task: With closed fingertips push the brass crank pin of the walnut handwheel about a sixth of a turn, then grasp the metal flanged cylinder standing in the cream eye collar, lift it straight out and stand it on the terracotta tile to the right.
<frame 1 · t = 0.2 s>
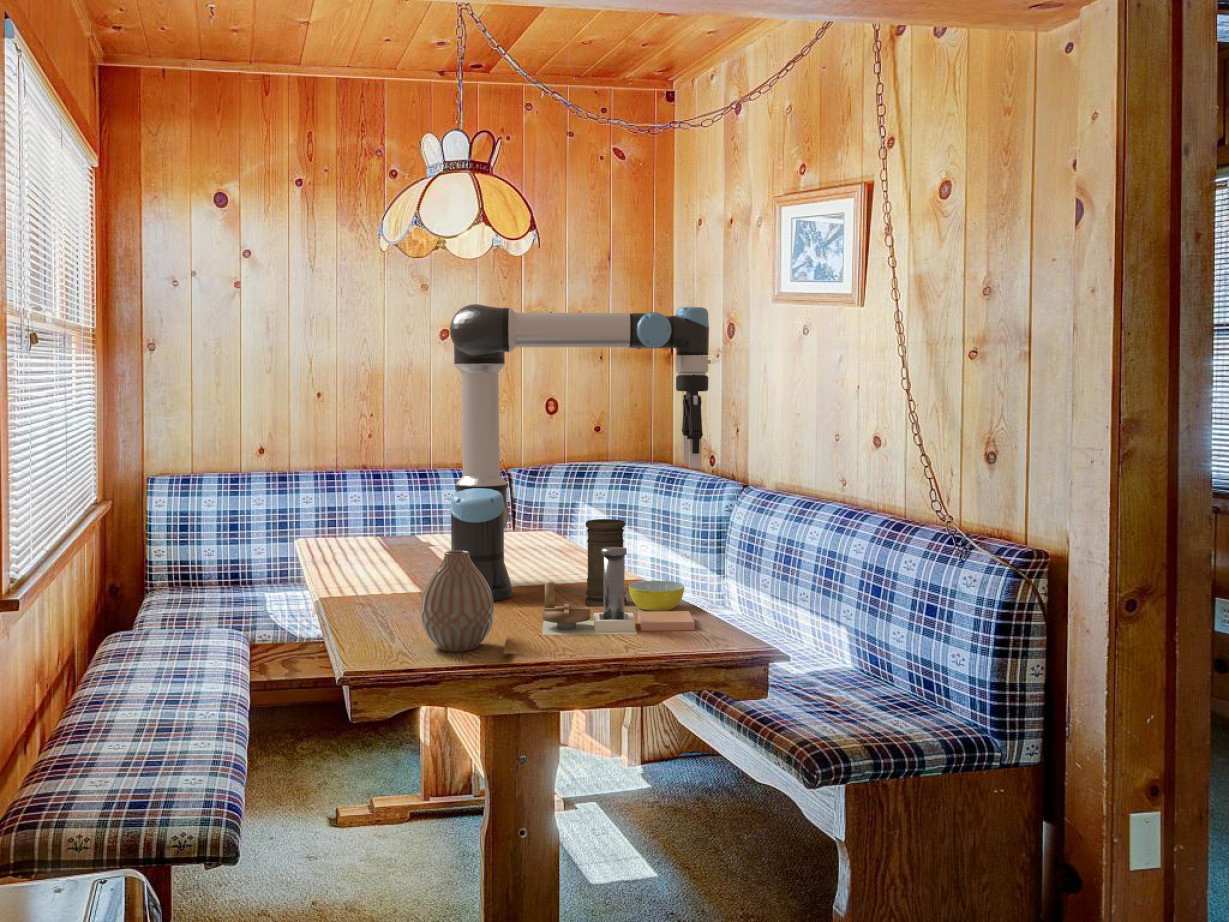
hand: (691, 465, 278), 28 cm above the table, fingers open, 13 cm apart
rest tile: (665, 632, 229), on the table
bowl: (656, 616, 245), on the table
metal flanged cylinder: (614, 627, 226), point 1 cm above the table, touching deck
container: (605, 605, 256), on the table
vase: (458, 648, 216), on the table
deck: (589, 635, 226), on the table
handwheel: (566, 601, 226), point 7 cm above the table, hinge at 0.0°
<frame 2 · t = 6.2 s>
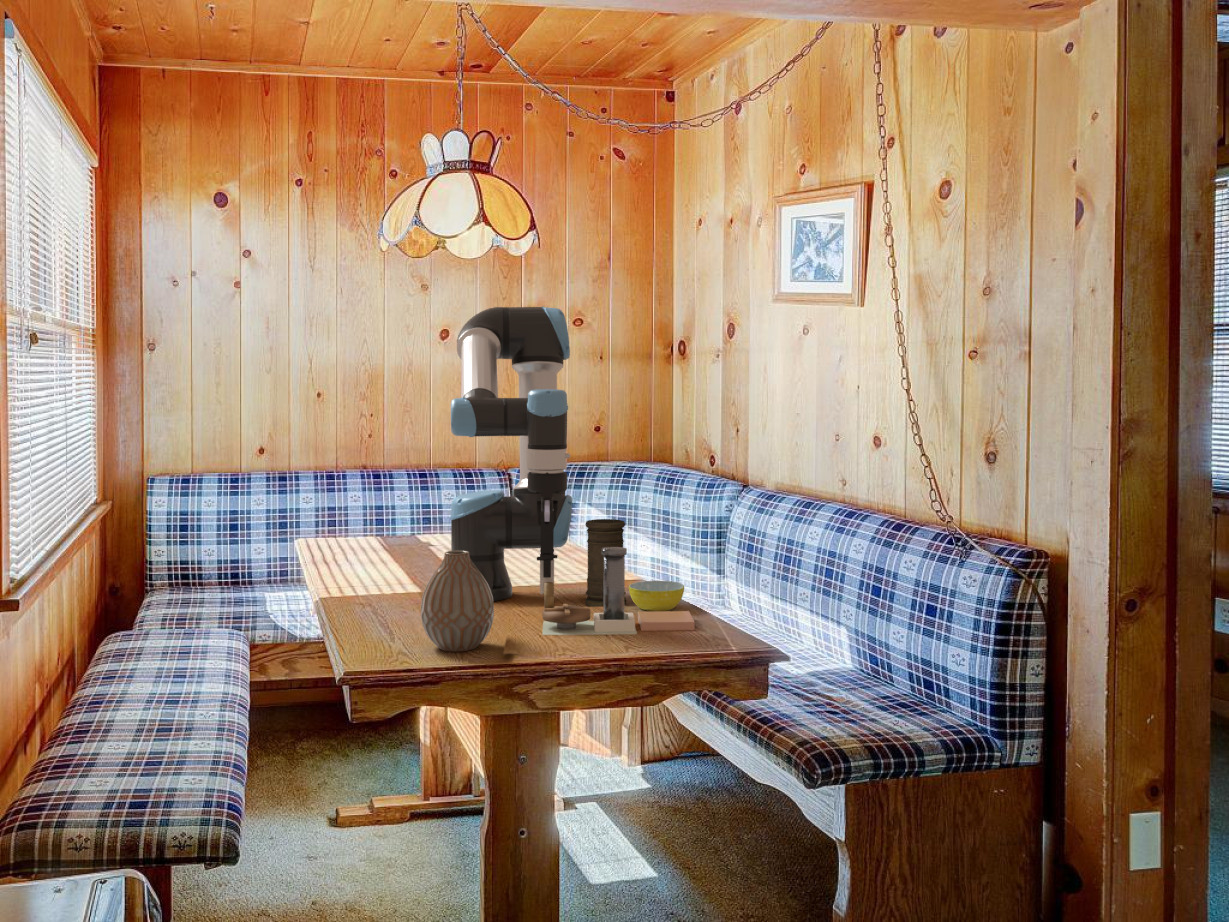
hand: (547, 593, 228), 8 cm above the table, fingers closed
handwheel: (566, 601, 226), point 7 cm above the table, hinge at 3.2°, touching gripper
everything else where it was.
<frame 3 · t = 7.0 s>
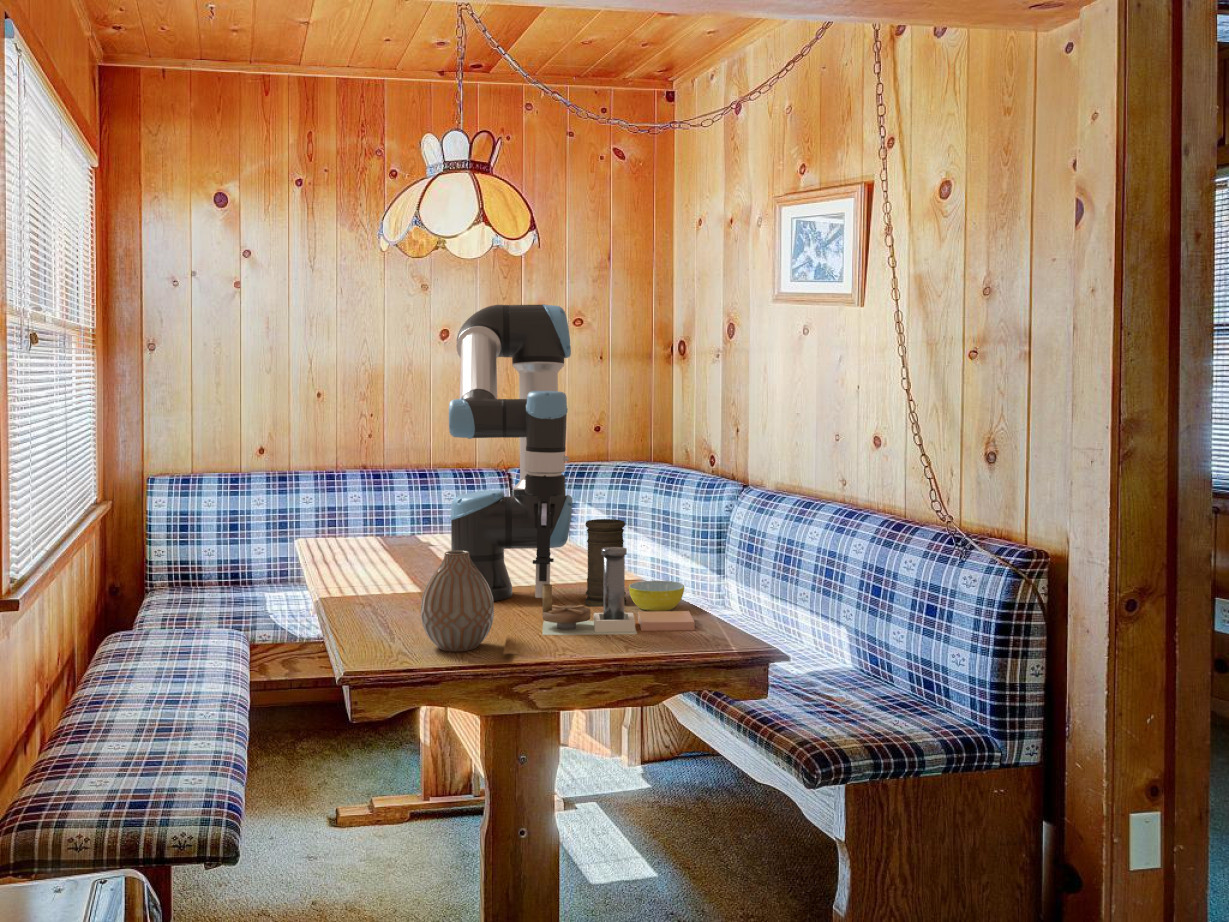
hand: (542, 597, 226), 7 cm above the table, fingers closed
handwheel: (566, 601, 226), point 7 cm above the table, hinge at 41.9°, touching gripper
everything else where it was.
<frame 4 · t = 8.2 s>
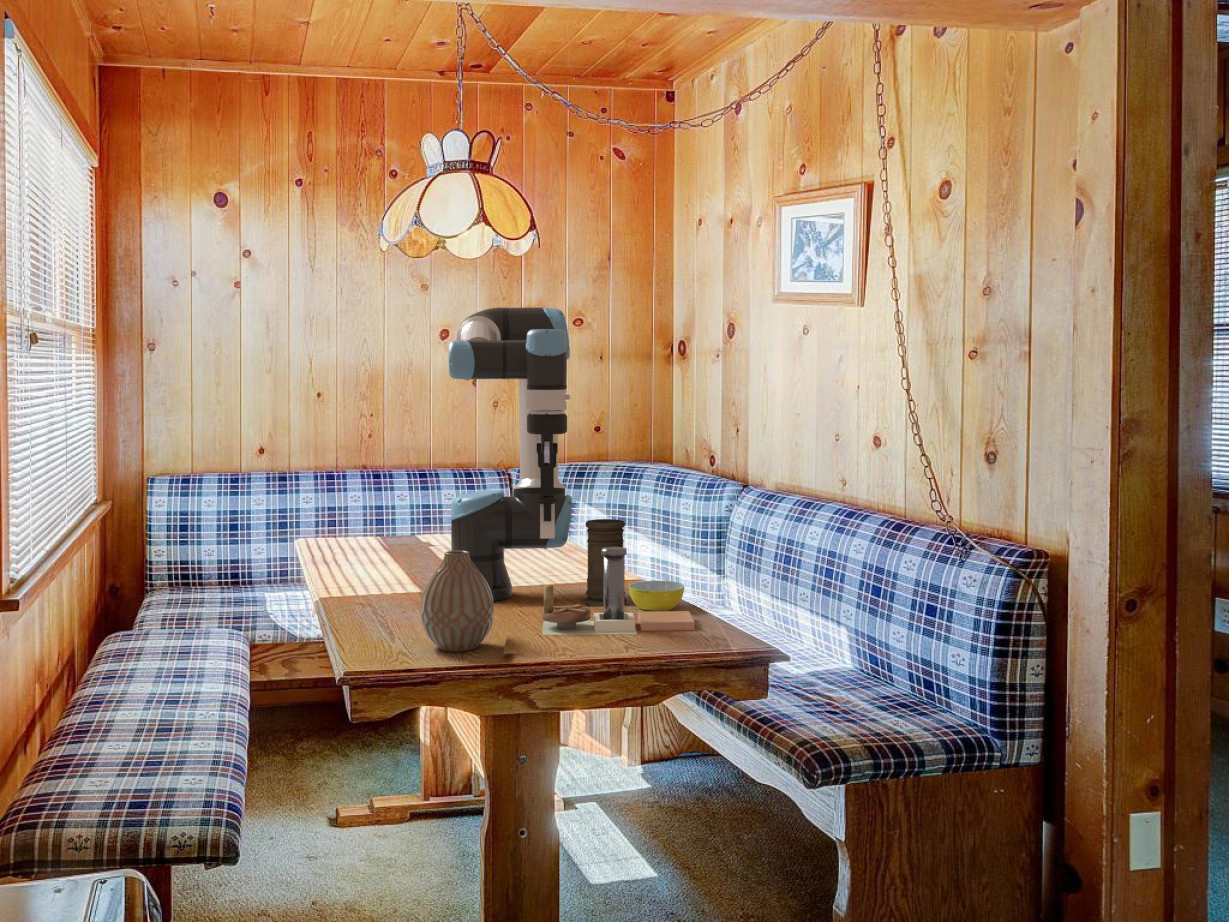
hand: (547, 537, 224), 19 cm above the table, fingers closed
handwheel: (566, 601, 226), point 7 cm above the table, hinge at 54.5°
everything else where it was.
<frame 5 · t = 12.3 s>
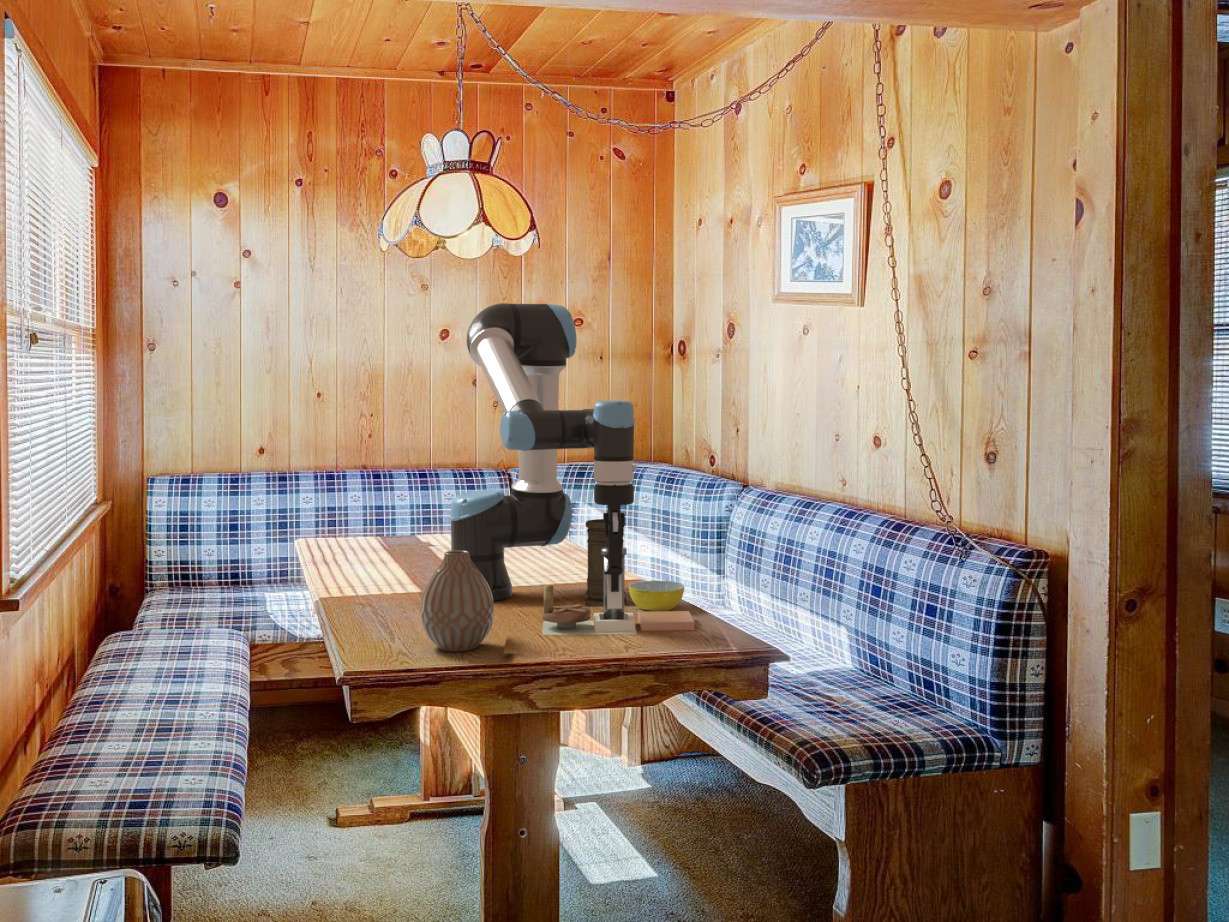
hand: (614, 605, 226), 6 cm above the table, fingers closed on metal flanged cylinder, 4 cm apart
metal flanged cylinder: (614, 627, 226), point 1 cm above the table, touching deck, gripper
everything else where it was.
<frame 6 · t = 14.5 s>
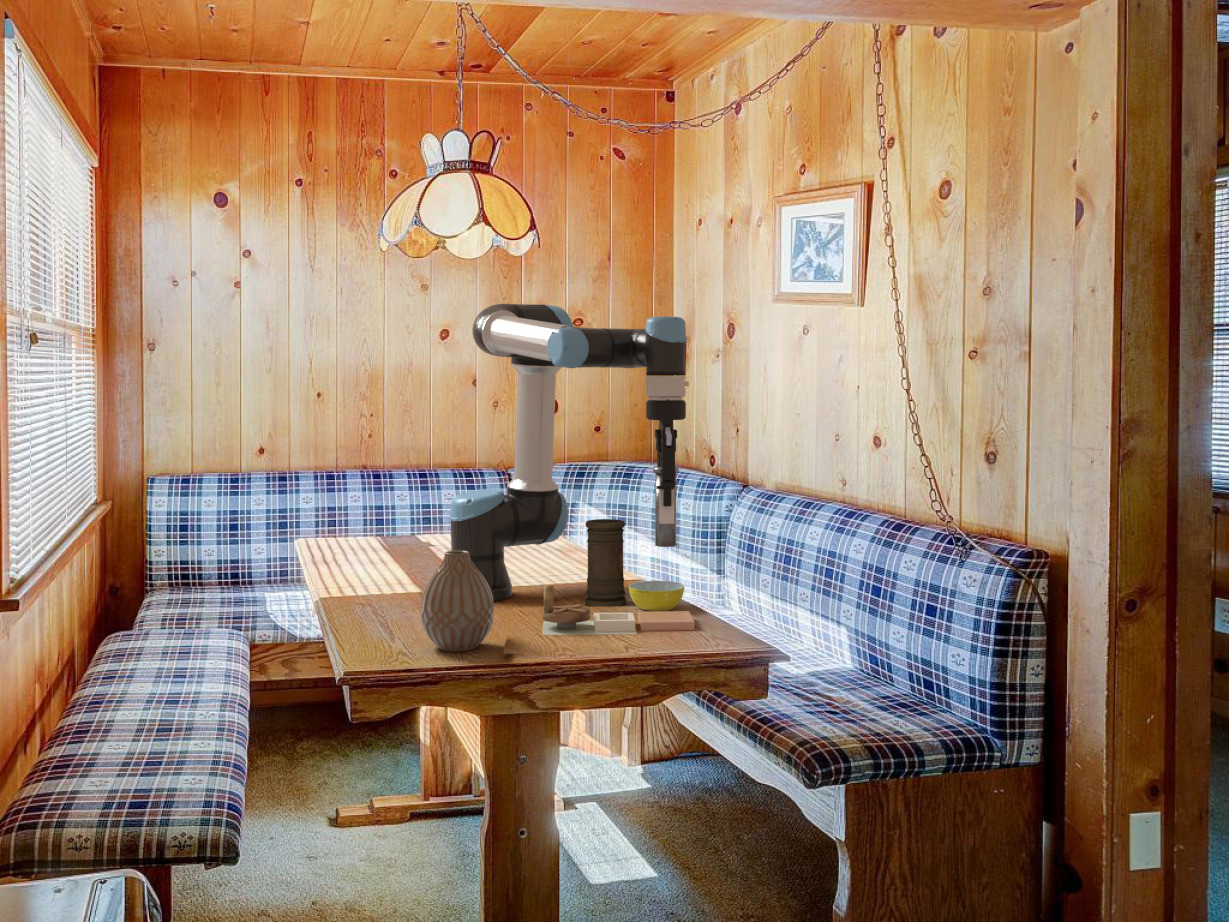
hand: (665, 521, 227), 21 cm above the table, fingers closed on metal flanged cylinder, 4 cm apart
metal flanged cylinder: (665, 545, 228), point 17 cm above the table, touching gripper
everything else where it was.
when the fingers open (8 cm above the table, at t = 17.1 s): metal flanged cylinder stays where it is, resting on rest tile.
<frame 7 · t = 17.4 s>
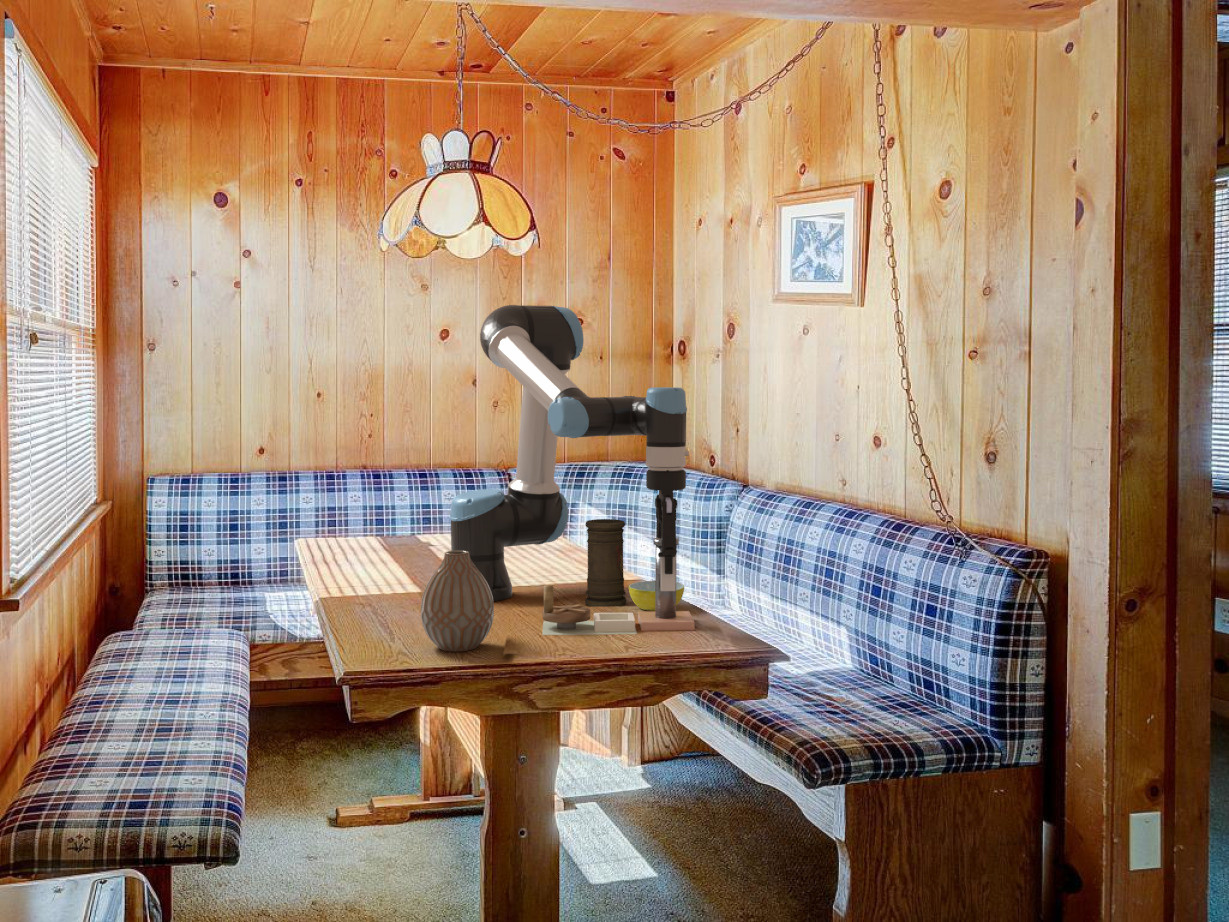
hand: (665, 586, 228), 9 cm above the table, fingers open, 9 cm apart
metal flanged cylinder: (665, 616, 229), point 3 cm above the table, touching rest tile
everything else where it was.
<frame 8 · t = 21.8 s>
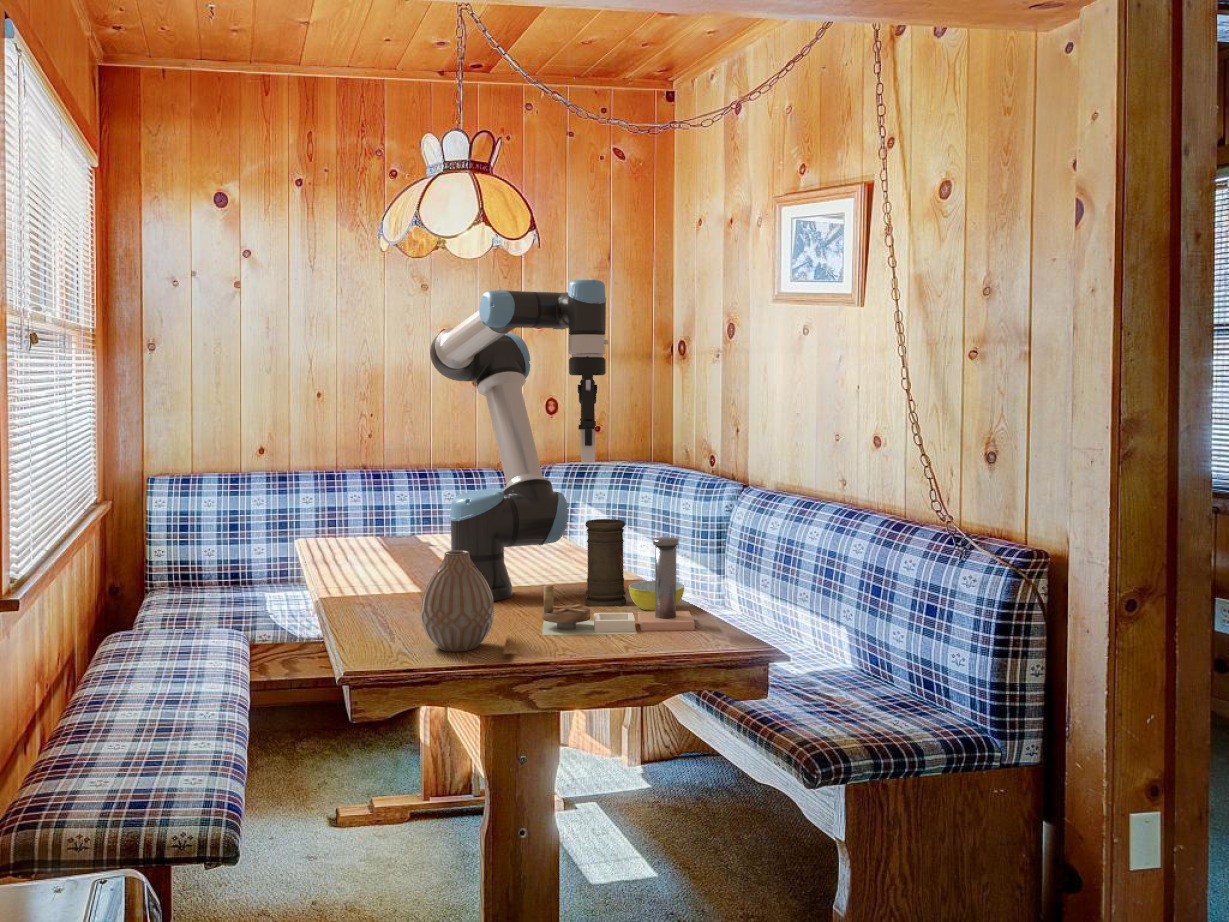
hand: (587, 459, 246), 32 cm above the table, fingers open, 13 cm apart
nothing on the table moved.
at the end: handwheel at +55° (first picture: +0°); metal flanged cylinder inside the target area on the rest tile (0.0 cm from its centre), point 3.0 cm above the rest tile's base; the gripper is holding nothing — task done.
